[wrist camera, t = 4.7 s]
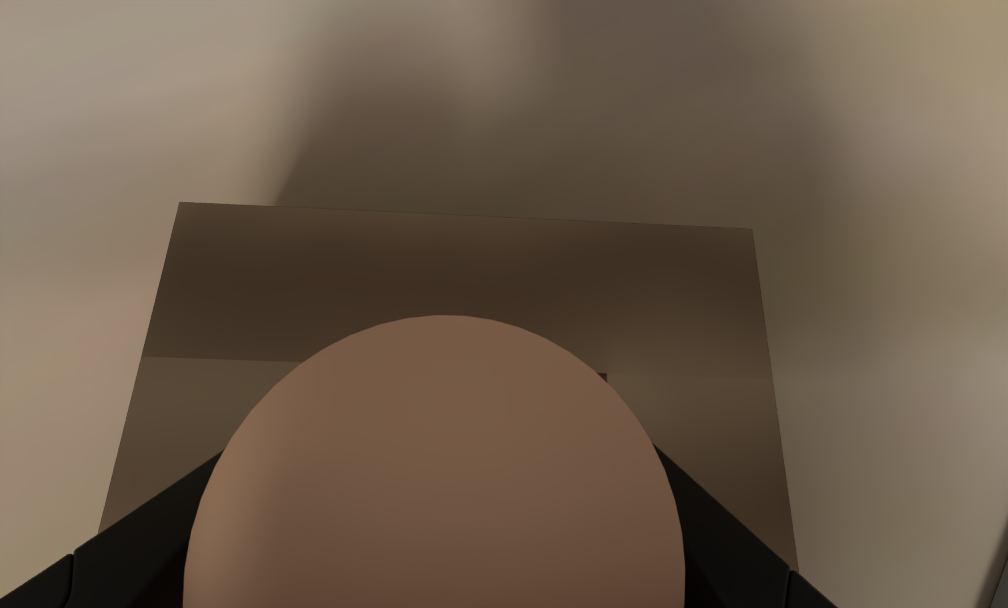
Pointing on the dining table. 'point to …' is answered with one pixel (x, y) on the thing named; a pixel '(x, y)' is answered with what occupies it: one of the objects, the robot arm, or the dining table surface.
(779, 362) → the dining table surface
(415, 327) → the peg
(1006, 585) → the pad
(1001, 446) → the dining table surface
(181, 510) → the robot arm
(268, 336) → the pocket block
